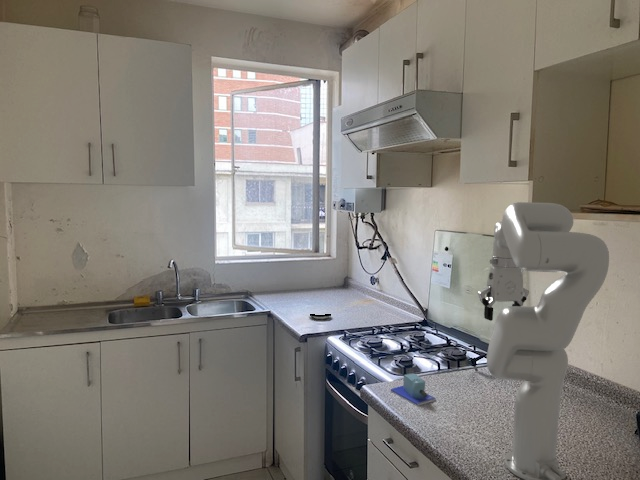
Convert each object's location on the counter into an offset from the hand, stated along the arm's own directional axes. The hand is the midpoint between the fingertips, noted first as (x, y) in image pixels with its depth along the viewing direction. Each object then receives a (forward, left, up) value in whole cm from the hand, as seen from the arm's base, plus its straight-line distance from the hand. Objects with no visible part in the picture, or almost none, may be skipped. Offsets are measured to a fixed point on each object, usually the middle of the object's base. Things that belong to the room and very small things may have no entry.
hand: (502, 318), depth 142 cm
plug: (+13, +21, -27) cm, 37 cm away
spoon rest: (+117, +26, -29) cm, 123 cm away
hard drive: (+14, +22, -29) cm, 39 cm away
